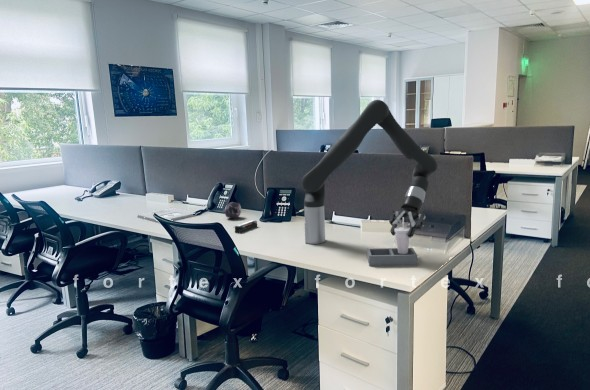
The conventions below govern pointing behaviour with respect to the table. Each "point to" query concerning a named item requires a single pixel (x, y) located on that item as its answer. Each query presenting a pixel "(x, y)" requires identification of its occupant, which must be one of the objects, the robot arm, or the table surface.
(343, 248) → the table surface
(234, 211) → the mineral specimen
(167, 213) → the award plaque
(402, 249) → the smoothie
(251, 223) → the dark brown flat block
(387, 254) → the caddy
